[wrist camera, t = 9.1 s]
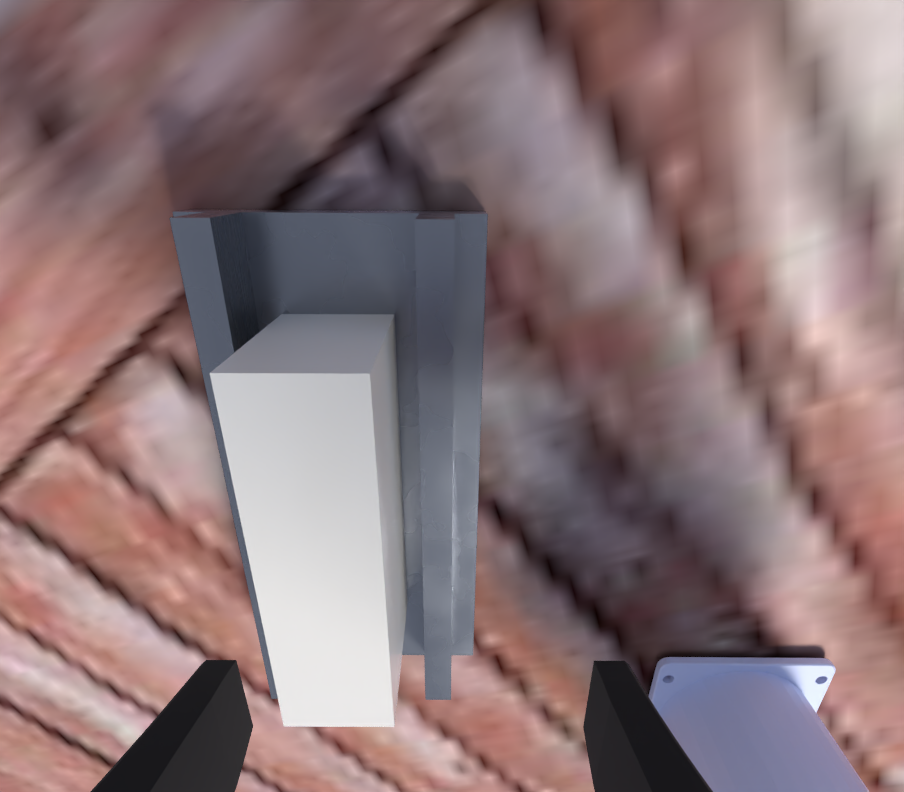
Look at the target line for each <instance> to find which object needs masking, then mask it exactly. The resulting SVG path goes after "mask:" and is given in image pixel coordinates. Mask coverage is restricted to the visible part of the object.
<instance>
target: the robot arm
mask: <svg viewBox="0 0 904 792" xmlns="http://www.w3.org/2000/svg"><path fill="white" fill-rule="evenodd" d="M834 673H835V667H834V665H833V664H832V663H831V661H830V660H828V659H826V658H758V657H665V658H662V659H661V660H659V661H658V663H657V665H656V669H655V673H654V677H653V681H652V685H651V689H650V693H649V697H648V695H647V694H646V692H645V691H644V689H643V687H642V686H641V684H640V682H639V681H638V679H637V677H636V676H635V674H634V672H633V671H632V669H631V667H630V666H629V665H628V664H627V663H626V662H625V661H594V665H593V671H592V677H591V683H590V690H589V696H588V702H587V708H586V714H585V720H584V733H585V739H586V745H587V751H588V757H589V763H590V768H591V774H592V779H593V784H594V789H595V792H869V790H868V789H867V787H866V786H865V785H864V783H863V782H862V780H861V779H860V777H859V776H858V774H857V773H856V771H855V770H854V768H853V767H852V765H851V764H850V762H849V761H848V759H847V758H846V756H845V755H844V753H843V752H842V750H841V749H840V747H839V746H838V744H837V743H836V741H835V740H834V739H833V737H832V736H831V734H830V733H829V731H828V730H827V728H826V727H825V725H824V724H823V722H822V721H821V719H820V718H819V716H818V715H817V713H816V712H817V710H818V708H819V705H820V703H821V701H822V699H823V697H824V695H825V693H826V690H827V688H828V686H829V684H830V682H831V680H832V677H833V675H834ZM252 728H253V724H252V720H251V716H250V712H249V709H248V705H247V701H246V697H245V693H244V689H243V685H242V681H241V677H240V673H239V669H238V665H237V661H236V660H206V661H205V662H204V663H202V664H201V666H200V667H199V668H198V669H197V670H196V672H195V673H194V674H193V675H192V676H191V677H190V679H189V680H188V681H187V682H186V683H185V685H184V686H183V687H182V688H181V689H180V690H179V692H178V693H177V694H176V695H175V696H174V698H173V699H172V700H171V701H170V702H169V703H168V705H167V706H166V707H165V708H164V709H163V711H162V712H161V713H160V714H159V715H158V716H157V718H156V719H155V720H154V721H153V722H152V723H151V724H150V726H149V727H148V728H147V729H146V730H145V731H144V733H143V734H142V735H141V736H140V737H139V738H138V739H137V741H136V742H135V743H134V744H133V745H132V746H131V747H130V748H129V750H128V751H127V752H126V753H125V754H124V755H123V756H122V757H121V759H120V760H119V761H118V762H117V763H116V764H115V765H114V766H113V768H112V769H111V770H110V771H109V772H108V773H107V774H106V775H105V777H104V778H103V779H102V780H101V781H100V782H99V783H98V784H97V785H96V786H95V787H94V789H93V790H92V791H91V792H235V789H236V786H237V783H238V779H239V776H240V772H241V769H242V765H243V762H244V758H245V755H246V751H247V747H248V743H249V739H250V736H251V732H252Z"/></svg>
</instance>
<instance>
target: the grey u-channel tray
mask: <svg viewBox="0 0 904 792" xmlns="http://www.w3.org/2000/svg"><path fill="white" fill-rule="evenodd" d="M173 216H174V217H170V222H171V227H172V232H173V236H174V241H175V246H176V251H177V255H178V260H179V265H180V269H181V274H182V279H183V284H184V288H185V293H186V298H187V302H188V307H189V312H190V316H191V321H192V326H193V331H194V335H195V340H196V345H197V349H198V354H199V359H200V364H201V368H202V373H203V378H204V382H205V387H206V392H207V396H208V401H209V406H210V411H211V415H212V420H213V425H214V429H215V434H216V439H217V444H218V448H219V453H220V458H221V462H222V467H223V472H224V477H225V481H226V486H227V491H228V495H229V500H230V505H231V509H232V514H233V519H234V524H235V528H236V533H237V538H238V542H239V547H240V552H241V557H242V561H243V566H244V571H245V575H246V580H247V585H248V589H249V594H250V599H251V604H252V608H253V613H254V618H255V622H256V627H257V632H258V637H259V641H260V646H261V651H262V655H263V660H264V665H265V669H266V674H267V679H268V684H269V688H270V693H271V698H272V699H278V696H277V691H276V687H275V682H274V677H273V672H272V668H271V663H270V658H269V653H268V649H267V644H266V639H265V634H264V630H263V625H262V620H261V615H260V611H259V606H258V601H257V596H256V591H255V587H254V582H253V577H252V572H251V568H250V563H249V558H248V553H247V549H246V544H245V539H244V534H243V530H242V525H241V520H240V515H239V511H238V506H237V501H236V496H235V492H234V487H233V482H232V477H231V473H230V468H229V463H228V458H227V454H226V449H225V444H224V439H223V435H222V430H221V425H220V420H219V416H218V411H217V406H216V401H215V397H214V392H213V387H212V382H211V377H210V372H212V371H213V370H214V369H215V368H216V367H218V366H219V365H220V364H221V363H223V362H224V361H225V360H226V359H227V358H229V357H230V356H231V355H232V354H234V353H235V352H236V351H237V350H238V349H240V348H241V347H242V346H243V345H244V344H246V343H247V342H248V341H249V340H251V339H252V338H253V337H254V336H255V335H257V334H258V333H259V332H260V331H262V330H263V329H264V328H265V327H266V326H268V325H269V324H270V323H271V322H273V321H274V320H275V319H276V318H277V317H279V316H280V315H281V314H394V316H395V338H396V360H397V382H398V404H399V426H400V448H401V470H402V492H403V514H404V536H405V558H406V580H407V602H408V603H407V612H406V622H405V631H404V641H403V650H402V655H425V695H426V700H451V655H473V638H474V608H475V578H476V548H477V519H478V489H479V459H480V429H481V399H482V369H483V339H484V309H485V280H486V250H487V220H488V214H487V213H486V211H345V210H198V209H189V210H182V211H174V212H173Z"/></svg>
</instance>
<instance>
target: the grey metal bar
mask: <svg viewBox="0 0 904 792" xmlns="http://www.w3.org/2000/svg"><path fill="white" fill-rule="evenodd" d="M210 377H211V382H212V387H213V392H214V397H215V401H216V406H217V411H218V416H219V420H220V425H221V430H222V435H223V439H224V444H225V449H226V454H227V458H228V463H229V468H230V473H231V477H232V482H233V487H234V492H235V496H236V501H237V506H238V511H239V515H240V520H241V525H242V530H243V534H244V539H245V544H246V549H247V553H248V558H249V563H250V568H251V572H252V577H253V582H254V587H255V591H256V596H257V601H258V606H259V611H260V615H261V620H262V625H263V630H264V634H265V639H266V644H267V649H268V653H269V658H270V663H271V668H272V672H273V677H274V682H275V687H276V691H277V696H278V701H279V706H280V710H281V715H282V720H283V725H284V726H313V727H394V726H395V717H396V707H397V698H398V688H399V679H400V669H401V660H402V650H403V641H404V631H405V622H406V612H407V603H408V602H407V580H406V558H405V536H404V514H403V492H402V470H401V448H400V426H399V404H398V382H397V360H396V338H395V316H394V314H281V315H280V316H279V317H277V318H276V319H275V320H274V321H273V322H271V323H270V324H269V325H268V326H266V327H265V328H264V329H263V330H262V331H260V332H259V333H258V334H257V335H255V336H254V337H253V338H252V339H251V340H249V341H248V342H247V343H246V344H244V345H243V346H242V347H241V348H240V349H238V350H237V351H236V352H235V353H234V354H232V355H231V356H230V357H229V358H227V359H226V360H225V361H224V362H223V363H221V364H220V365H219V366H218V367H216V368H215V369H214V370H213V371H212V372H210Z"/></svg>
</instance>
